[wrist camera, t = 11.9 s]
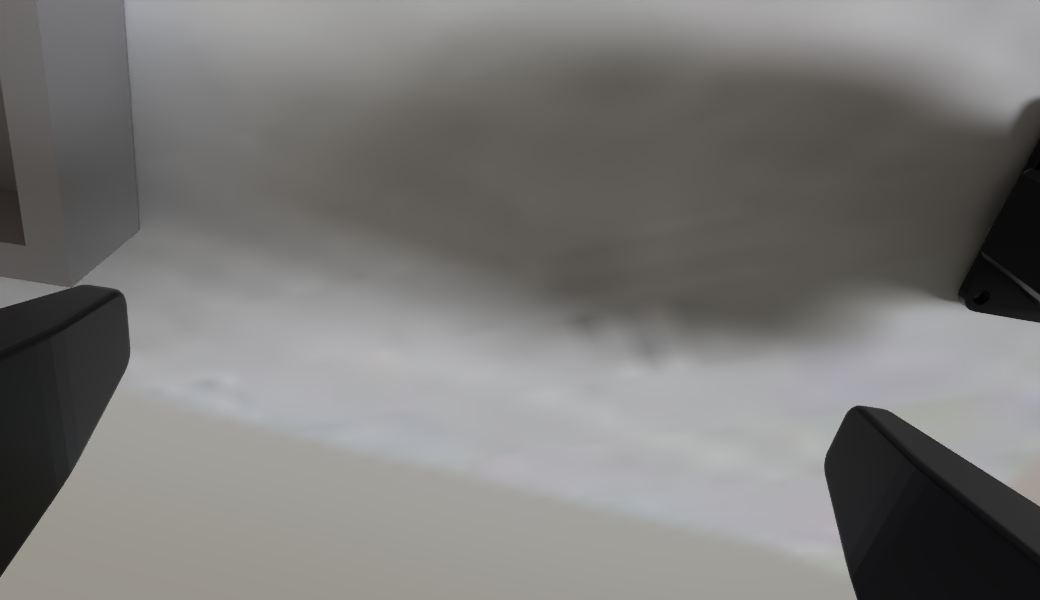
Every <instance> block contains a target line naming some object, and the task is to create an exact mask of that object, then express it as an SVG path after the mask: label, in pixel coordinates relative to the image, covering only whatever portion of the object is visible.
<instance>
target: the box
mask: <svg viewBox="0 0 1040 600" xmlns="http://www.w3.org/2000/svg"><path fill="white" fill-rule="evenodd" d="M139 230H140V229H139V214H138V200H137V186H136V171H135V157H134V142H133V128H132V114H131V99H130V85H129V71H128V56H127V42H126V28H125V13H124V0H0V276H2V277H8V278H14V279H21V280H27V281H33V282H40V283H46V284H53V285H59V286H65V287H73V286H74V285H75V284H76V283H77V282H79V281H80V280H81V279H82V278H83V277H84V276H86V275H87V274H88V273H89V272H90V271H92V270H93V269H94V268H95V267H96V266H97V265H99V264H100V263H101V262H102V261H103V260H104V259H106V258H107V257H108V256H109V255H110V254H112V253H113V252H114V251H115V250H116V249H117V248H119V247H120V246H121V245H122V244H123V243H125V242H126V241H127V240H128V239H129V238H130V237H132V236H133V235H134V234H135V233H136V232H137V231H139Z"/></svg>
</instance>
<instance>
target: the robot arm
mask: <svg viewBox="0 0 1040 600" xmlns="http://www.w3.org/2000/svg"><path fill="white" fill-rule="evenodd" d="M981 290H983V292H982V294H981V295H980V296H979V297H977V298H974V296H975V294H976V293H977V292H979V291H981ZM958 297H959V300H960V301H961V302H962V304H964V305H965V306H966V307H967V308H968V309H969V310H972V311H975V312H980V313H986V314H992V315H998V316H1004V317H1010V318H1015V319H1021V320H1027V321H1033V322H1039V323H1040V140H1039V142H1038V144H1037V145H1036V147H1035V149H1034V151H1033V153H1032V155H1031V157H1030V159H1029V160H1028V162H1027V164H1026V166H1025V168H1024V170H1023V172H1022V174H1021V175H1020V176H1019V178H1018V180H1017V182H1016V184H1015V186H1014V188H1013V189H1012V191H1011V193H1010V195H1009V197H1008V199H1007V201H1006V202H1005V204H1004V206H1003V208H1002V210H1001V212H1000V214H999V216H998V217H997V219H996V221H995V223H994V225H993V227H992V229H991V231H990V232H989V234H988V236H987V238H986V240H985V242H984V244H983V246H982V248H981V250H980V252H979V254H978V256H977V258H976V260H975V261H974V263H973V265H972V267H971V269H970V271H969V273H968V275H967V276H966V278H965V280H964V282H963V284H962V286H961V288H960V290H959V293H958ZM129 358H130V340H129V328H128V316H127V305H126V300H125V297H124V295H123V294H122V293H121V292H120V291H119V290H117V289H112V288H106V287H100V286H93V285H80V286H77V287H73V288H70V289H66V290H63V291H59V292H56V293H53V294H49V295H46V296H42V297H39V298H35V299H32V300H29V301H25V302H22V303H18V304H15V305H11V306H8V307H5V308H1V309H0V577H1V575H2V574H3V573H4V571H5V570H6V568H7V566H8V565H9V564H10V562H11V561H12V559H13V558H14V557H15V555H16V554H17V552H18V551H19V549H20V548H21V546H22V545H23V543H24V542H25V540H26V539H27V537H28V536H29V535H30V533H31V532H32V530H33V529H34V527H35V526H36V524H37V523H38V521H39V520H40V519H41V517H42V516H43V514H44V513H45V511H46V510H47V508H48V507H49V506H50V504H51V503H52V501H53V500H54V498H55V497H56V495H57V494H58V492H59V491H60V489H61V488H62V486H63V485H64V483H65V482H66V480H67V479H68V477H69V475H70V474H71V472H72V470H73V469H74V467H75V465H76V463H77V461H78V459H79V458H80V456H81V454H82V452H83V450H84V448H85V447H86V445H87V443H88V441H89V439H90V437H91V435H92V433H93V431H94V430H95V428H96V426H97V424H98V422H99V420H100V418H101V416H102V414H103V412H104V411H105V409H106V407H107V405H108V403H109V401H110V399H111V397H112V395H113V393H114V391H115V390H116V388H117V386H118V384H119V382H120V380H121V378H122V376H123V374H124V372H125V370H126V368H127V365H128V362H129ZM824 469H825V476H826V481H827V485H828V489H829V493H830V497H831V501H832V506H833V510H834V514H835V518H836V522H837V527H838V531H839V535H840V539H841V543H842V547H843V552H844V556H845V560H846V564H847V567H848V571H849V575H850V578H851V582H852V584H853V588H854V591H855V594H856V597H857V600H1040V507H1039V506H1038V505H1036V504H1035V503H1033V502H1032V501H1030V500H1028V499H1027V498H1025V497H1024V496H1022V495H1021V494H1019V493H1017V492H1016V491H1014V490H1013V489H1011V488H1010V487H1008V486H1006V485H1005V484H1003V483H1002V482H1000V481H999V480H997V479H995V478H994V477H992V476H991V475H989V474H988V473H986V472H984V471H983V470H981V469H980V468H978V467H976V466H975V465H973V464H972V463H970V462H969V461H967V460H965V459H964V458H962V457H961V456H959V455H958V454H956V453H954V452H953V451H951V450H950V449H948V448H947V447H945V446H943V445H942V444H940V443H939V442H937V441H936V440H934V439H932V438H931V437H929V436H928V435H926V434H924V433H923V432H921V431H920V430H918V429H917V428H915V427H913V426H912V425H910V424H909V423H907V422H906V421H904V420H902V419H901V418H899V417H898V416H896V415H895V414H893V413H891V412H890V411H888V410H884V409H880V408H873V407H867V406H855V407H853V408H851V409H850V410H849V411H848V412H847V414H846V415H845V417H844V419H843V421H842V423H841V425H840V427H839V430H838V432H837V434H836V436H835V438H834V440H833V442H832V444H831V446H830V448H829V450H828V452H827V454H826V458H825V464H824Z"/></svg>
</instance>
